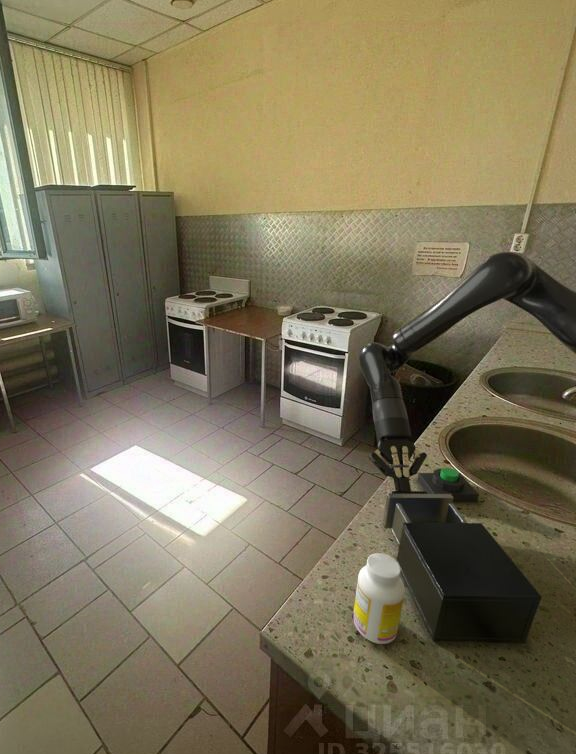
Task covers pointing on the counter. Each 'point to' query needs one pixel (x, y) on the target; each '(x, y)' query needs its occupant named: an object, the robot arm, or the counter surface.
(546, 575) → the counter surface
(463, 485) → the control block
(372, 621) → the supplement bottle
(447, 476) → the button
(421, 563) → the black box
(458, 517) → the rack drawer
